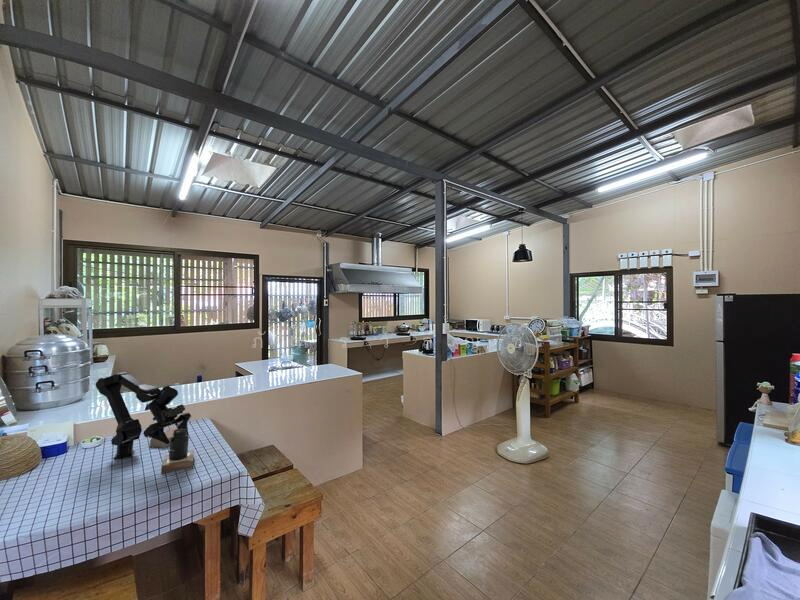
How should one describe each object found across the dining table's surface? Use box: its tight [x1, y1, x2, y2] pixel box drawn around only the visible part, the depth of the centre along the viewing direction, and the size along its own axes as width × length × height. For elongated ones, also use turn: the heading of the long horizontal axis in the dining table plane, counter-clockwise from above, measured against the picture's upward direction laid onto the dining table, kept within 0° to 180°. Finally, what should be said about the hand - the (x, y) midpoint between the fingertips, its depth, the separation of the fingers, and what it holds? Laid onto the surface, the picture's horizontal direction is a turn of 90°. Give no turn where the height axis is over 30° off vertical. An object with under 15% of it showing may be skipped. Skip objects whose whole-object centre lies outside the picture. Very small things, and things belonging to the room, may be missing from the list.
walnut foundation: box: [160, 450, 195, 474], centre depth 139 cm, size 11×11×3 cm
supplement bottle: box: [168, 428, 190, 461], centre depth 139 cm, size 7×7×12 cm
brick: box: [149, 426, 178, 448], centre depth 164 cm, size 17×8×5 cm, turn 178°
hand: (178, 439), depth 139 cm, fingers open, 9 cm apart
